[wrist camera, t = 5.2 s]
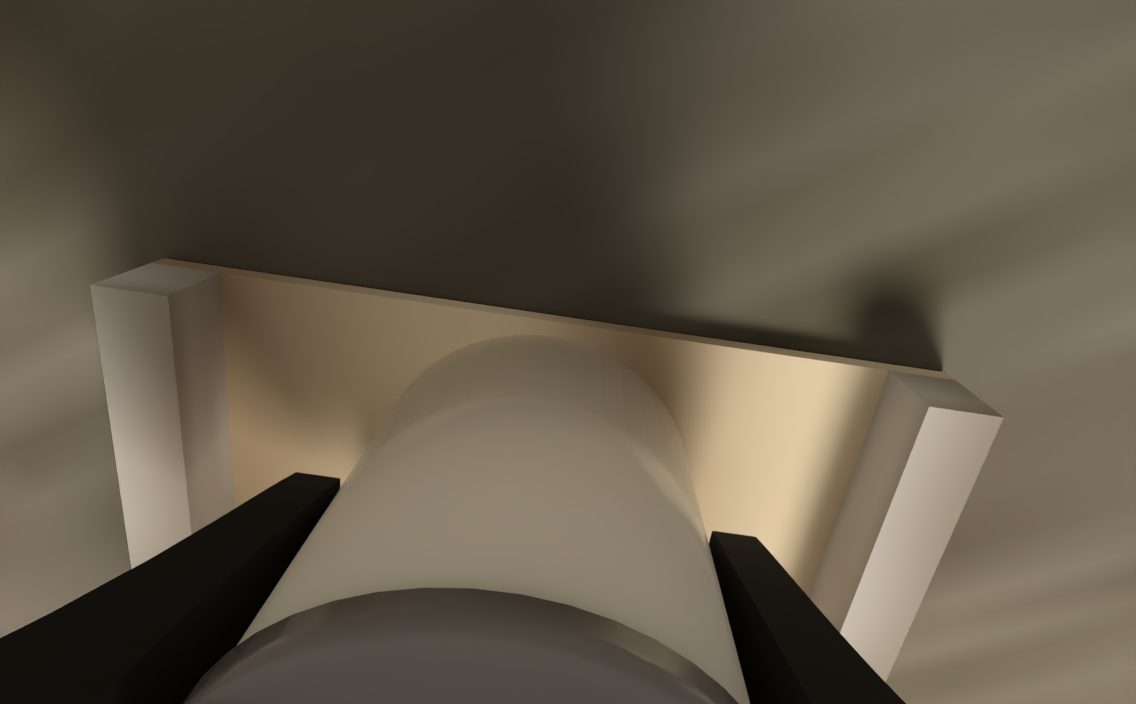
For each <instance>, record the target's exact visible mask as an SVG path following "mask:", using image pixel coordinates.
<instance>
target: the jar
mask: <svg viewBox="0 0 1136 704" xmlns="http://www.w3.org/2000/svg"><path fill="white" fill-rule="evenodd" d="M183 704H750V701H749V697H748V693H747V690H746V686H745V682H744V678H743V674H742V670H741V666H740V663H739V659H738V655H737V651H736V647H735V643H734V639H733V635H732V632H731V628H730V624H729V620H728V616H727V612H726V608H725V605H724V601H723V597H722V593H721V589H720V585H719V581H718V578H717V574H716V570H715V566H714V562H713V558H712V554H711V550H710V547H709V543H708V539H707V535H706V531H705V527H704V523H703V520H702V516H701V512H700V508H699V504H698V500H697V496H696V493H695V489H694V485H693V481H692V477H691V473H690V469H689V465H688V462H687V458H686V454H685V450H684V446H683V442H682V438H681V435H680V433H679V430H678V428H677V425H676V423H675V421H674V418H673V417H672V415H671V413H670V412H669V410H668V408H667V407H666V405H665V403H664V402H663V401H662V399H661V398H660V397H659V396H658V394H657V393H656V392H655V391H654V389H653V388H652V387H651V386H650V385H649V384H648V383H647V382H646V381H645V380H644V379H642V378H641V377H640V376H639V375H638V374H637V373H636V372H635V371H633V370H632V369H630V368H629V367H628V366H626V365H625V364H623V363H622V362H621V361H619V360H617V359H615V358H613V357H612V356H610V355H608V354H606V353H604V352H602V351H600V350H598V349H595V348H592V347H590V346H587V345H585V344H582V343H579V342H575V341H571V340H567V339H563V338H558V337H550V336H542V335H512V336H504V337H496V338H491V339H488V340H484V341H480V342H476V343H473V344H470V345H468V346H465V347H463V348H460V349H458V350H455V351H453V352H452V353H450V354H448V355H446V356H445V357H443V358H441V359H439V360H438V361H436V362H435V363H434V364H432V365H431V366H430V367H428V368H427V369H426V370H424V371H423V372H422V373H421V374H420V375H419V376H418V377H417V378H416V379H415V380H414V381H413V382H412V383H411V384H410V385H409V386H408V388H407V389H406V390H405V392H404V393H403V394H402V396H401V397H400V399H399V400H398V401H397V403H396V405H395V406H394V408H393V409H392V411H391V412H390V414H389V415H388V417H387V418H386V420H385V421H384V423H383V424H382V426H381V427H380V429H379V430H378V432H377V433H376V435H375V436H374V438H373V439H372V441H371V442H370V444H369V445H368V447H367V449H366V450H365V452H364V453H363V455H362V456H361V458H360V459H359V461H358V462H357V464H356V465H355V467H354V468H353V470H352V471H351V473H350V474H349V476H348V477H347V479H346V480H345V482H344V483H343V485H342V486H341V488H340V489H339V491H338V493H337V494H336V496H335V497H334V499H333V500H332V502H331V503H330V505H329V506H328V508H327V509H326V511H325V512H324V514H323V515H322V517H321V518H320V520H319V521H318V523H317V524H316V526H315V527H314V529H313V530H312V532H311V533H310V535H309V537H308V538H307V540H306V541H305V543H304V544H303V546H302V547H301V549H300V550H299V552H298V553H297V555H296V556H295V558H294V559H293V561H292V562H291V564H290V565H289V567H288V568H287V570H286V571H285V573H284V574H283V576H282V577H281V579H280V581H279V582H278V584H277V585H276V587H275V588H274V590H273V591H272V593H271V594H270V596H269V597H268V599H267V600H266V602H265V603H264V605H263V606H262V608H261V609H260V611H259V612H258V614H257V615H256V617H255V618H254V620H253V621H252V623H251V625H250V626H249V628H248V629H247V631H246V632H245V634H244V635H243V637H242V638H241V640H240V641H239V643H238V644H237V646H236V647H234V648H233V649H231V650H230V651H228V652H227V653H226V654H225V655H224V656H223V657H222V658H221V659H220V660H219V661H217V662H216V663H215V664H214V665H213V666H212V667H211V668H210V669H209V670H208V671H207V672H206V673H205V674H204V675H203V676H202V677H201V679H200V680H199V681H198V683H197V684H196V686H195V687H194V688H193V690H192V691H191V693H190V694H189V695H188V697H187V698H186V699H185V701H184V702H183Z"/></svg>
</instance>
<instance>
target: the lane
mask: <svg viewBox="0 0 1136 704" xmlns="http://www.w3.org/2000/svg"><path fill="white" fill-rule="evenodd" d="M90 287H91V294H92V301H93V308H94V315H95V321H96V328H97V335H98V342H99V349H100V356H101V363H102V370H103V376H104V383H105V390H106V397H107V404H108V411H109V418H110V425H111V431H112V438H113V445H114V452H115V459H116V466H117V473H118V479H119V486H120V493H121V500H122V507H123V514H124V521H125V528H126V534H127V541H128V548H129V555H130V562H131V569H133V568H134V567H136V566H138V565H140V564H142V563H144V562H145V561H147V560H149V559H151V558H153V557H154V556H156V555H158V554H159V553H161V552H163V551H165V550H166V549H168V548H170V547H171V546H173V545H175V544H176V543H178V542H180V541H181V540H183V539H185V538H186V537H188V536H190V535H191V534H193V533H195V532H197V531H198V530H200V529H202V528H203V527H205V526H207V525H208V524H210V523H212V522H213V521H215V520H217V519H218V518H220V517H222V516H223V515H225V514H227V513H228V512H230V511H231V510H233V509H235V508H236V507H238V506H240V505H241V504H243V503H245V502H246V501H248V500H249V499H251V498H253V497H254V496H256V495H258V494H259V493H261V492H263V491H264V490H266V489H268V488H269V487H271V486H273V485H274V484H276V483H278V482H279V481H281V480H283V479H285V478H286V477H288V476H290V475H292V474H294V473H295V472H299V473H306V474H313V475H320V476H327V477H334V478H340V488H341V486H342V485H343V483H344V482H345V480H346V479H347V477H348V476H349V474H350V473H351V471H352V470H353V468H354V467H355V465H356V464H357V462H358V461H359V459H360V458H361V456H362V455H363V453H364V452H365V450H366V449H367V447H368V445H369V444H370V442H371V441H372V439H373V438H374V436H375V435H376V433H377V432H378V430H379V429H380V427H381V426H382V424H383V423H384V421H385V420H386V418H387V417H388V415H389V414H390V412H391V411H392V409H393V408H394V406H395V405H396V403H397V401H398V400H399V399H400V397H401V396H402V394H403V393H404V392H405V390H406V389H407V388H408V386H409V385H410V384H411V383H412V382H413V381H414V380H415V379H416V378H417V377H418V376H419V375H420V374H421V373H422V372H423V371H424V370H426V369H427V368H428V367H430V366H431V365H432V364H434V363H435V362H436V361H438V360H439V359H441V358H443V357H445V356H446V355H448V354H450V353H452V352H453V351H455V350H458V349H460V348H463V347H465V346H468V345H470V344H473V343H476V342H480V341H484V340H488V339H491V338H496V337H504V336H512V335H542V336H550V337H558V338H563V339H567V340H571V341H575V342H579V343H582V344H585V345H587V346H590V347H592V348H595V349H598V350H600V351H602V352H604V353H606V354H608V355H610V356H612V357H613V358H615V359H617V360H619V361H621V362H622V363H623V364H625V365H626V366H628V367H629V368H630V369H632V370H633V371H635V372H636V373H637V374H638V375H639V376H640V377H641V378H642V379H644V380H645V381H646V382H647V383H648V384H649V385H650V386H651V387H652V388H653V389H654V391H655V392H656V393H657V394H658V396H659V397H660V398H661V399H662V401H663V402H664V403H665V405H666V407H667V408H668V410H669V412H670V413H671V415H672V417H673V418H674V421H675V423H676V425H677V428H678V430H679V433H680V435H681V438H682V442H683V446H684V450H685V454H686V458H687V462H688V465H689V469H690V473H691V477H692V481H693V485H694V489H695V493H696V496H697V500H698V504H699V508H700V512H701V516H702V520H703V523H704V527H705V531H706V535H707V539H708V543H709V541H710V537H711V533H712V531H718V532H726V533H733V534H740V535H747V536H754V537H757V538H758V540H759V541H760V542H761V543H762V544H763V545H764V546H765V547H766V548H767V549H768V551H769V552H770V553H771V554H772V555H773V556H774V557H775V559H776V560H777V561H778V562H779V563H780V564H781V565H782V567H783V568H784V569H785V570H786V571H787V572H788V574H789V575H790V576H791V577H792V578H793V579H794V581H795V582H796V583H797V584H798V585H799V586H800V588H801V589H802V590H803V591H804V592H805V593H806V595H807V596H808V597H809V598H810V599H811V600H812V602H813V603H814V604H815V605H816V606H817V607H818V608H819V610H820V611H821V612H822V613H823V614H824V615H825V616H826V618H827V619H828V620H829V621H830V622H831V623H832V624H833V626H834V627H835V628H836V629H837V630H838V631H839V632H840V633H841V635H842V636H843V637H844V638H845V639H846V640H847V641H848V642H849V643H850V645H851V646H852V647H853V648H854V649H855V650H856V651H857V652H858V653H859V655H860V656H861V657H862V658H863V659H864V660H865V661H866V662H867V663H868V664H869V665H870V667H871V668H872V669H873V670H874V671H875V672H876V673H877V674H878V675H879V676H880V677H881V678H882V679H883V680H884V681H885V682H886V680H887V678H888V676H889V673H890V671H891V669H892V667H893V664H894V662H895V660H896V658H897V656H898V653H899V651H900V649H901V647H902V644H903V642H904V640H905V638H906V635H907V633H908V631H909V629H910V626H911V624H912V622H913V620H914V617H915V615H916V613H917V611H918V608H919V606H920V604H921V602H922V600H923V597H924V595H925V593H926V591H927V588H928V586H929V584H930V582H931V579H932V577H933V575H934V573H935V570H936V568H937V566H938V564H939V561H940V559H941V557H942V555H943V552H944V550H945V548H946V546H947V544H948V541H949V539H950V537H951V535H952V532H953V530H954V528H955V526H956V523H957V521H958V519H959V517H960V514H961V512H962V510H963V508H964V505H965V503H966V501H967V499H968V496H969V494H970V492H971V490H972V488H973V485H974V483H975V481H976V479H977V476H978V474H979V472H980V470H981V467H982V465H983V463H984V461H985V458H986V456H987V454H988V452H989V449H990V447H991V445H992V443H993V440H994V438H995V436H996V434H997V432H998V429H999V427H1000V425H1001V423H1002V420H1003V418H1004V417H1003V416H1001V415H1000V414H999V413H997V412H996V411H995V410H993V409H992V408H991V407H990V406H988V405H987V404H986V403H984V402H983V401H982V400H980V399H979V398H978V397H977V396H975V395H974V394H973V393H971V392H970V391H969V390H967V389H966V388H965V387H964V386H962V385H961V384H960V383H958V382H957V381H956V380H954V379H953V378H952V377H951V376H949V375H948V374H947V373H945V372H940V371H933V370H926V369H920V368H913V367H906V366H899V365H892V364H885V363H878V362H872V361H865V360H858V359H851V358H844V357H837V356H831V355H824V354H817V353H810V352H803V351H796V350H789V349H783V348H776V347H769V346H762V345H755V344H748V343H742V342H735V341H728V340H721V339H714V338H707V337H700V336H694V335H687V334H680V333H673V332H666V331H659V330H653V329H646V328H639V327H632V326H625V325H618V324H611V323H605V322H598V321H591V320H584V319H577V318H570V317H564V316H557V315H550V314H543V313H536V312H529V311H522V310H516V309H509V308H502V307H495V306H488V305H481V304H475V303H468V302H461V301H454V300H447V299H440V298H433V297H427V296H420V295H413V294H406V293H399V292H392V291H386V290H379V289H372V288H365V287H358V286H351V285H344V284H338V283H331V282H324V281H317V280H310V279H303V278H297V277H290V276H283V275H276V274H269V273H262V272H255V271H249V270H242V269H235V268H228V267H221V266H214V265H208V264H201V263H194V262H187V261H180V260H173V259H166V258H163V259H160V260H157V261H155V262H152V263H149V264H146V265H144V266H141V267H138V268H135V269H133V270H130V271H127V272H124V273H122V274H119V275H116V276H113V277H110V278H108V279H105V280H102V281H99V282H97V283H94V284H91V285H90Z"/></svg>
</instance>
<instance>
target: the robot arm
mask: <svg viewBox="0 0 1136 704" xmlns="http://www.w3.org/2000/svg"><path fill="white" fill-rule="evenodd" d="M339 489H340V478H334V477H327V476H320V475H313V474H306V473H299V472H295V473H294V474H292V475H290V476H288V477H286V478H285V479H283V480H281V481H279V482H278V483H276V484H274V485H273V486H271V487H269V488H268V489H266V490H264V491H263V492H261V493H259V494H258V495H256V496H254V497H253V498H251V499H249V500H248V501H246V502H245V503H243V504H241V505H240V506H238V507H236V508H235V509H233V510H231V511H230V512H228V513H227V514H225V515H223V516H222V517H220V518H218V519H217V520H215V521H213V522H212V523H210V524H208V525H207V526H205V527H203V528H202V529H200V530H198V531H197V532H195V533H193V534H191V535H190V536H188V537H186V538H185V539H183V540H181V541H180V542H178V543H176V544H175V545H173V546H171V547H170V548H168V549H166V550H165V551H163V552H161V553H159V554H158V555H156V556H154V557H153V558H151V559H149V560H147V561H145V562H144V563H142V564H140V565H138V566H136V567H134V568H133V569H131V570H129V571H127V572H125V573H123V574H122V575H120V576H118V577H116V578H114V579H112V580H111V581H109V582H107V583H105V584H103V585H101V586H100V587H98V588H96V589H94V590H92V591H90V592H89V593H87V594H85V595H83V596H81V597H79V598H78V599H76V600H74V601H72V602H70V603H68V604H67V605H65V606H63V607H61V608H59V609H57V610H56V611H54V612H52V613H50V614H48V615H46V616H44V617H42V618H40V619H38V620H36V621H34V622H32V623H30V624H28V625H26V626H24V627H22V628H20V629H18V630H16V631H14V632H12V633H10V634H8V635H6V636H4V637H2V638H0V704H183V702H184V701H185V699H186V698H187V697H188V695H189V694H190V693H191V691H192V690H193V688H194V687H195V686H196V684H197V683H198V681H199V680H200V679H201V677H202V676H203V675H204V674H205V673H206V672H207V671H208V670H209V669H210V668H211V667H212V666H213V665H214V664H215V663H216V662H217V661H219V660H220V659H221V658H222V657H223V656H224V655H225V654H226V653H227V652H228V651H230V650H231V649H233V648H234V647H236V646H237V644H238V643H239V641H240V640H241V638H242V637H243V635H244V634H245V632H246V631H247V629H248V628H249V626H250V625H251V623H252V621H253V620H254V618H255V617H256V615H257V614H258V612H259V611H260V609H261V608H262V606H263V605H264V603H265V602H266V600H267V599H268V597H269V596H270V594H271V593H272V591H273V590H274V588H275V587H276V585H277V584H278V582H279V581H280V579H281V577H282V576H283V574H284V573H285V571H286V570H287V568H288V567H289V565H290V564H291V562H292V561H293V559H294V558H295V556H296V555H297V553H298V552H299V550H300V549H301V547H302V546H303V544H304V543H305V541H306V540H307V538H308V537H309V535H310V533H311V532H312V530H313V529H314V527H315V526H316V524H317V523H318V521H319V520H320V518H321V517H322V515H323V514H324V512H325V511H326V509H327V508H328V506H329V505H330V503H331V502H332V500H333V499H334V497H335V496H336V494H337V493H338V491H339ZM709 547H710V550H711V554H712V558H713V562H714V566H715V570H716V574H717V578H718V581H719V585H720V589H721V593H722V597H723V601H724V605H725V608H726V612H727V616H728V620H729V624H730V628H731V632H732V635H733V639H734V643H735V647H736V651H737V655H738V659H739V663H740V666H741V670H742V674H743V678H744V682H745V686H746V690H747V693H748V697H749V701H750V704H906V703H905V702H904V701H903V700H902V699H901V698H900V697H899V696H898V695H897V694H896V693H895V692H894V691H893V690H892V689H891V688H890V687H889V686H888V685H887V684H886V683H885V681H884V680H883V679H882V678H881V677H880V676H879V675H878V674H877V673H876V672H875V671H874V670H873V669H872V668H871V667H870V665H869V664H868V663H867V662H866V661H865V660H864V659H863V658H862V657H861V656H860V655H859V653H858V652H857V651H856V650H855V649H854V648H853V647H852V646H851V645H850V643H849V642H848V641H847V640H846V639H845V638H844V637H843V636H842V635H841V633H840V632H839V631H838V630H837V629H836V628H835V627H834V626H833V624H832V623H831V622H830V621H829V620H828V619H827V618H826V616H825V615H824V614H823V613H822V612H821V611H820V610H819V608H818V607H817V606H816V605H815V604H814V603H813V602H812V600H811V599H810V598H809V597H808V596H807V595H806V593H805V592H804V591H803V590H802V589H801V588H800V586H799V585H798V584H797V583H796V582H795V581H794V579H793V578H792V577H791V576H790V575H789V574H788V572H787V571H786V570H785V569H784V568H783V567H782V565H781V564H780V563H779V562H778V561H777V560H776V559H775V557H774V556H773V555H772V554H771V553H770V552H769V551H768V549H767V548H766V547H765V546H764V545H763V544H762V543H761V542H760V541H759V540H758V538H757V537H754V536H747V535H740V534H733V533H726V532H718V531H712V533H711V537H710V541H709Z"/></svg>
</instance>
